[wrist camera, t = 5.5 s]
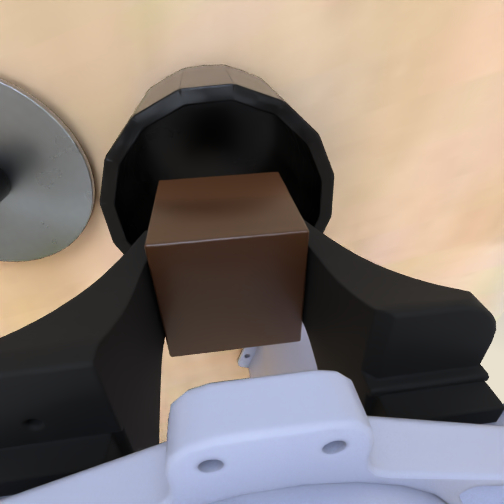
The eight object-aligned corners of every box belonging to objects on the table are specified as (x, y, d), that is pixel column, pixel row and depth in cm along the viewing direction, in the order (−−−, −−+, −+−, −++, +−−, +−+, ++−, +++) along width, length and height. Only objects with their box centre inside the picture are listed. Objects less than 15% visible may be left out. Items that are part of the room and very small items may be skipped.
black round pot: (266, 246, 25) (285, 310, 19) (116, 214, 22) (90, 278, 16) (326, 100, 20) (374, 131, 14) (142, 34, 17) (117, 42, 11)
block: (276, 266, 16) (301, 342, 12) (176, 275, 15) (169, 358, 11) (278, 170, 13) (310, 230, 9) (158, 179, 13) (142, 245, 9)
